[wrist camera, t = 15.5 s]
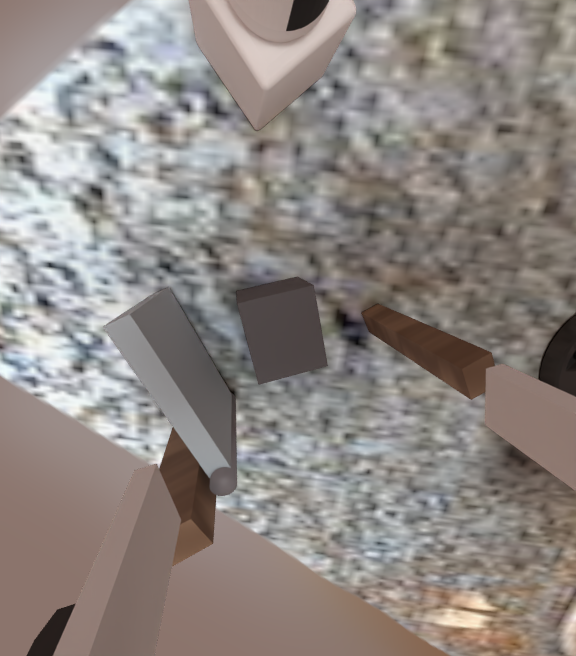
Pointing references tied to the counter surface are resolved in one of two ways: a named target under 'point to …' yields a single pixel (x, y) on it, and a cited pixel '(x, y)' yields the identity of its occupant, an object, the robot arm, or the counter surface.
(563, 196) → the counter surface
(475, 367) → the doorframe
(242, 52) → the medicine bottle
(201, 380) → the door
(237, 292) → the dark grey block
